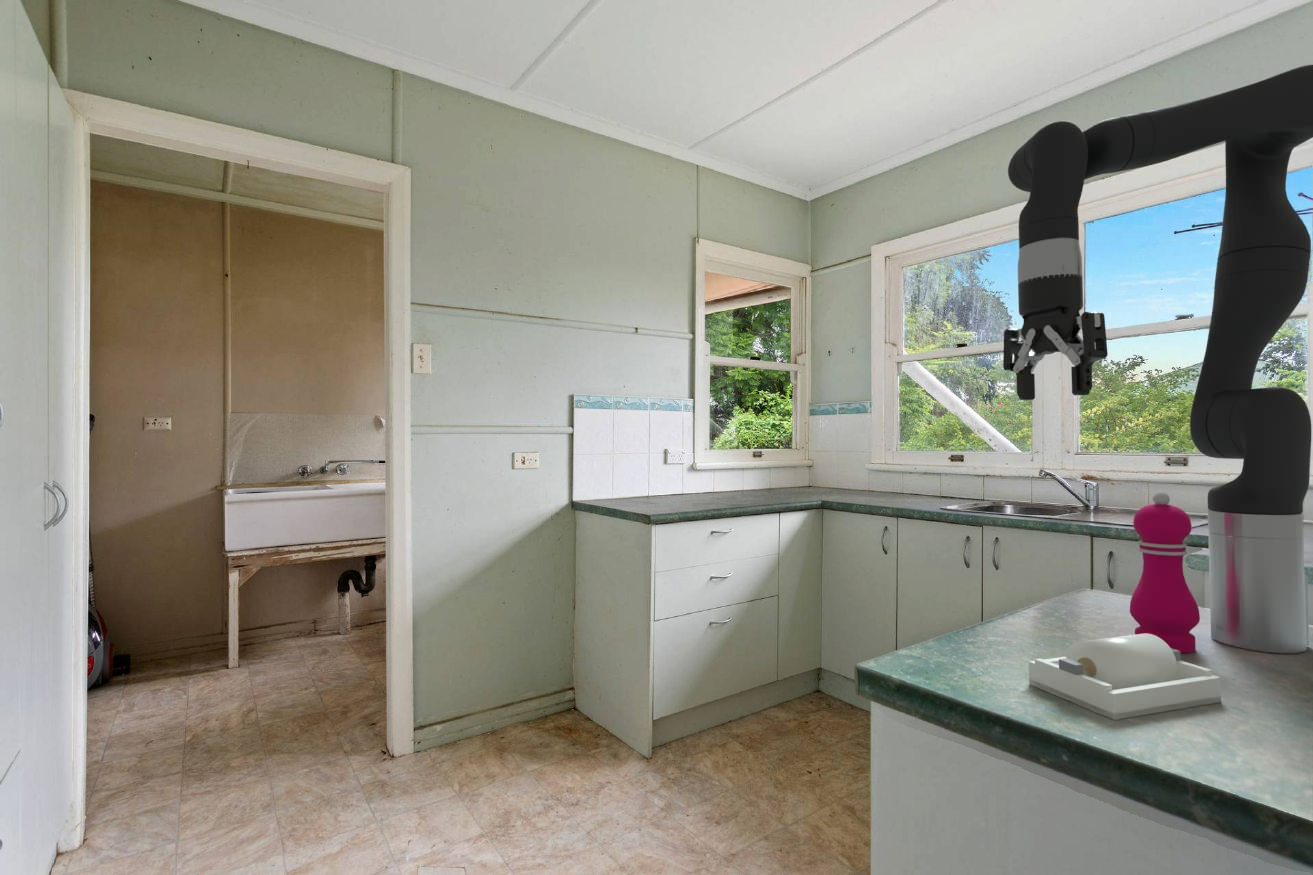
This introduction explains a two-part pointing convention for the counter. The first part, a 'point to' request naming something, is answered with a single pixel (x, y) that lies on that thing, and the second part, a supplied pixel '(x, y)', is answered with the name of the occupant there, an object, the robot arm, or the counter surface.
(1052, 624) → the counter surface
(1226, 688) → the counter surface
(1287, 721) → the counter surface
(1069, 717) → the counter surface
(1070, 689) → the holder
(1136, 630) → the pepper mill
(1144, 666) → the paper roll
